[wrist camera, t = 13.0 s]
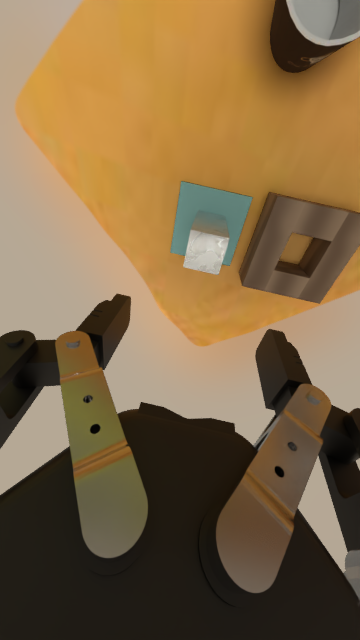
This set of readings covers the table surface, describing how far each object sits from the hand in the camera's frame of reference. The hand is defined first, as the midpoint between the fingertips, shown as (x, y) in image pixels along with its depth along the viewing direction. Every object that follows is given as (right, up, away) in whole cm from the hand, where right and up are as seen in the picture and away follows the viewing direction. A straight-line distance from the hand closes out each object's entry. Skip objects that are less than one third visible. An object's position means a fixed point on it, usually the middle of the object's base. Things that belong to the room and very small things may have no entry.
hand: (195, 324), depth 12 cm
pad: (+3, +15, +20) cm, 25 cm away
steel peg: (+3, +14, +20) cm, 25 cm away
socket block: (+16, +12, +20) cm, 28 cm away
